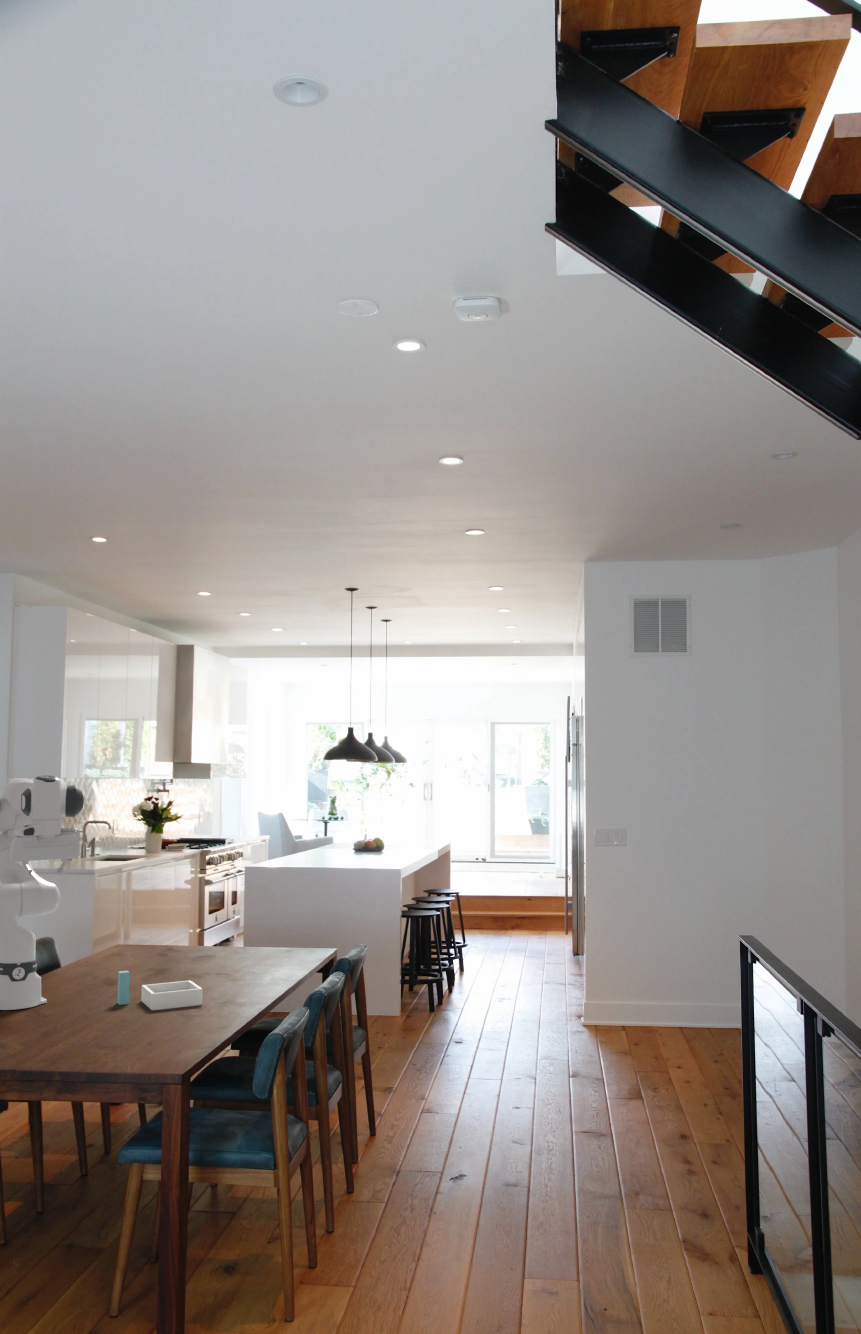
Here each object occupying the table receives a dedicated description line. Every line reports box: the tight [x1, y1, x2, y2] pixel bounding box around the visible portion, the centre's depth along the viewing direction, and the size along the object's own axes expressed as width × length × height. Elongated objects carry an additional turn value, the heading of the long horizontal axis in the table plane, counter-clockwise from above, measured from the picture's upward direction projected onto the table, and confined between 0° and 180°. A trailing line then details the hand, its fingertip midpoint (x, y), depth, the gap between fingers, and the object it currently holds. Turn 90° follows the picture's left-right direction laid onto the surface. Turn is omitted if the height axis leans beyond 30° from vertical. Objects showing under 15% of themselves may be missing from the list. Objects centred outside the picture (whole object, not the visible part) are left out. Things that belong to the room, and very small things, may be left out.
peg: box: [117, 970, 130, 1006], centre depth 335 cm, size 3×3×10 cm
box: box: [140, 980, 204, 1011], centre depth 335 cm, size 16×16×5 cm
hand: (44, 875), depth 315 cm, fingers open, 8 cm apart
